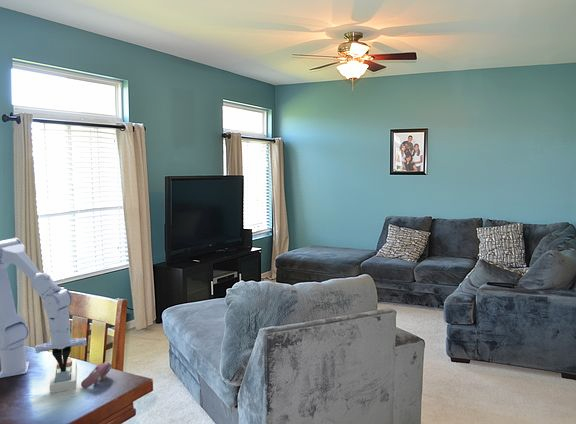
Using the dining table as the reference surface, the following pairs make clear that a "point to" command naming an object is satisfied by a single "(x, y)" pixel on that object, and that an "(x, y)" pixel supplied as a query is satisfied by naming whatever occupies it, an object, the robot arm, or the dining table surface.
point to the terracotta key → (66, 364)
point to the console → (64, 384)
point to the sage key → (64, 371)
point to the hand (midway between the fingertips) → (63, 370)
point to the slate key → (62, 376)
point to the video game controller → (96, 374)
